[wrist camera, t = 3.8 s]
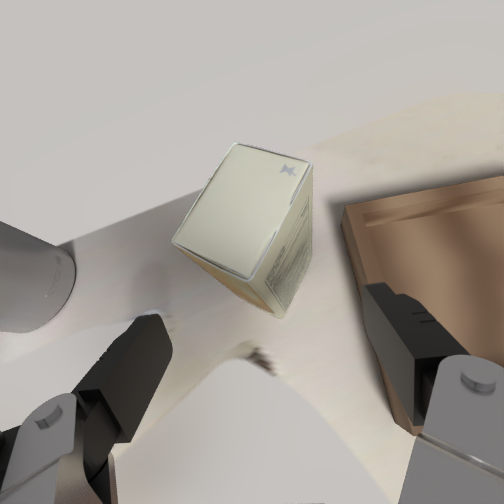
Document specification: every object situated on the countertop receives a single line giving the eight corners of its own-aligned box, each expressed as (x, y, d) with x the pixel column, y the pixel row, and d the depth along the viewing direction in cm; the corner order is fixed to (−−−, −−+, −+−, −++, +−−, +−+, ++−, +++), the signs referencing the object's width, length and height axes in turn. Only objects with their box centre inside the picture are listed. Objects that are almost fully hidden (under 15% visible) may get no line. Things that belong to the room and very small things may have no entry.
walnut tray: (395, 422, 17) (413, 436, 14) (340, 225, 23) (345, 205, 20) (673, 403, 14) (764, 415, 12) (530, 191, 21) (566, 163, 18)
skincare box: (269, 239, 24) (235, 133, 13) (313, 256, 22) (318, 154, 11) (235, 300, 22) (163, 241, 11) (280, 324, 21) (249, 283, 10)
